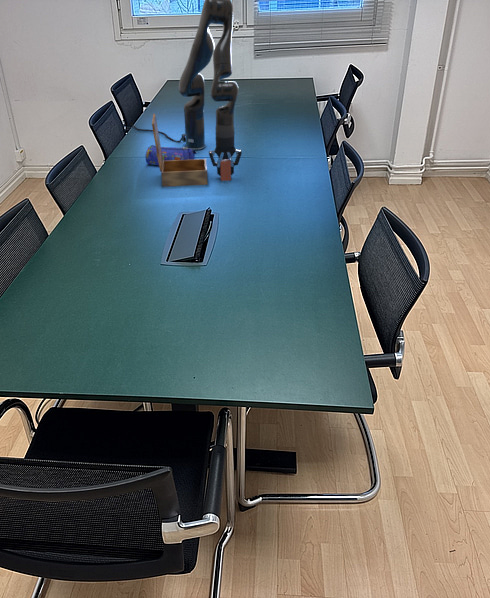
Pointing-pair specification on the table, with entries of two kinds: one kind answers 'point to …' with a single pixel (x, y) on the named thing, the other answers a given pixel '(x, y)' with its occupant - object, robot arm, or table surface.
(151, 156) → the pencil case
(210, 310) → the table surface
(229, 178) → the block
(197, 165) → the chest
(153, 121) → the lid
